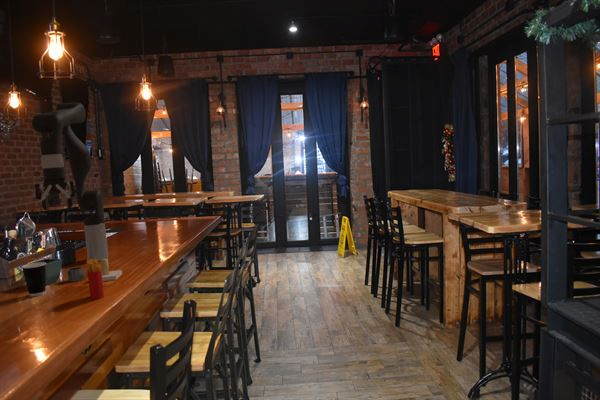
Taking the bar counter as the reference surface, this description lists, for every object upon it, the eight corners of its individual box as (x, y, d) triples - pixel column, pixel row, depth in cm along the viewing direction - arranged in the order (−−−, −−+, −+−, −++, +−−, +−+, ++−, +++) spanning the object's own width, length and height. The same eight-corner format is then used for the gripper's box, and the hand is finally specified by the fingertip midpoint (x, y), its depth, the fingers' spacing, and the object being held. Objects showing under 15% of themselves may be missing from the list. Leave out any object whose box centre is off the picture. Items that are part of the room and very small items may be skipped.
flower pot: (64, 280, 196) (62, 258, 195) (47, 286, 188) (44, 263, 187) (47, 280, 199) (45, 258, 198) (29, 286, 191) (26, 263, 190)
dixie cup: (51, 290, 182) (47, 261, 181) (48, 295, 175) (44, 265, 174) (27, 293, 180) (23, 264, 178) (23, 299, 172) (19, 268, 171)
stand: (96, 276, 200) (94, 258, 199) (122, 273, 201) (120, 255, 200) (89, 282, 190) (87, 263, 189) (116, 279, 191) (114, 260, 190)
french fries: (103, 299, 165) (99, 261, 163) (89, 301, 163) (85, 262, 162) (104, 292, 173) (100, 256, 172) (91, 294, 172) (87, 257, 171)
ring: (71, 278, 199) (69, 267, 198) (86, 277, 199) (85, 266, 199) (66, 282, 193) (64, 271, 192) (82, 280, 193) (80, 269, 193)
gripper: (75, 165, 191) (80, 206, 193) (37, 168, 189) (42, 209, 191) (69, 165, 184) (74, 208, 185) (29, 168, 182) (34, 211, 183)
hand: (58, 209), depth 188 cm, fingers open, 8 cm apart
